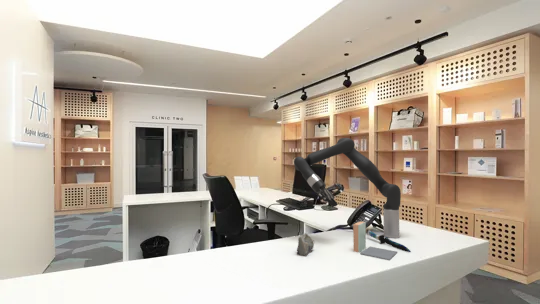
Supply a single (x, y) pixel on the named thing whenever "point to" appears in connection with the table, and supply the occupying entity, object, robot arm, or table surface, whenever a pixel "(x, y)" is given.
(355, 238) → the tile
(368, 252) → the slate mat
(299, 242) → the mineral rock
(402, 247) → the knife
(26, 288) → the table surface
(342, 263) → the table surface
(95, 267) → the table surface
